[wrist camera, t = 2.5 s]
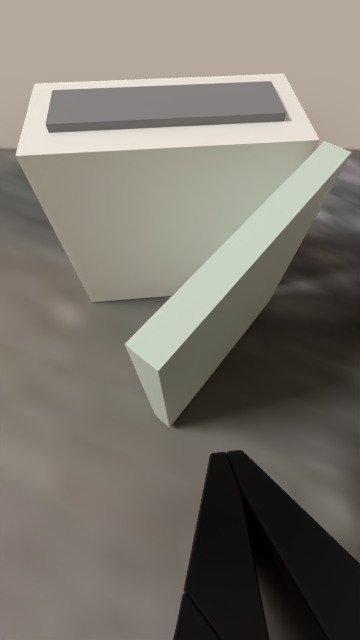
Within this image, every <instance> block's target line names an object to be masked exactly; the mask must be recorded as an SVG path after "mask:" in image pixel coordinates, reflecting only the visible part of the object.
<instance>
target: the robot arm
mask: <svg viewBox="0 0 360 640" xmlns="http://www.w3.org/2000/svg"><path fill="white" fill-rule="evenodd" d="M173 640H360V563H359V562H358V561H357V560H356V559H355V558H354V557H352V556H351V555H350V554H349V553H348V552H347V551H346V550H345V549H344V548H343V547H342V546H341V545H340V544H339V543H338V542H337V541H336V540H335V539H334V538H333V537H332V536H331V535H330V534H329V533H327V532H326V531H325V530H324V529H323V528H322V527H321V526H320V525H319V524H318V523H317V522H316V521H315V520H314V519H313V518H312V517H311V516H310V515H309V514H308V513H307V512H306V511H305V510H304V509H303V508H301V507H300V506H299V505H298V504H297V503H296V502H295V501H294V500H293V499H292V498H291V497H290V496H289V495H288V494H287V493H286V492H285V491H284V490H283V489H282V488H281V487H280V486H279V485H278V484H276V483H275V482H274V481H273V480H272V479H271V478H270V477H269V476H268V475H267V474H266V473H265V472H264V471H263V470H262V469H261V468H260V467H259V466H258V465H257V464H256V463H255V462H254V461H253V460H252V459H250V458H249V457H248V456H247V455H246V454H245V453H244V452H243V451H241V450H235V451H228V452H227V453H225V452H217V453H211V455H210V458H209V463H208V468H207V473H206V478H205V483H204V489H203V494H202V499H201V504H200V509H199V514H198V519H197V524H196V529H195V535H194V540H193V545H192V550H191V555H190V560H189V565H188V570H187V575H186V580H185V586H184V594H183V595H182V600H181V605H180V610H179V615H178V620H177V624H176V629H175V633H174V638H173Z"/></svg>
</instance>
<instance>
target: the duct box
mask: <svg viewBox="0 0 360 640" xmlns="http://www.w3.org/2000/svg"><path fill="white" fill-rule="evenodd" d="M318 142H319V138H318V136H317V134H316V132H315V131H314V129H313V127H312V125H311V123H310V121H309V119H308V117H307V116H306V114H305V112H304V110H303V108H302V106H301V104H300V103H299V101H298V99H297V97H296V95H295V93H294V91H293V90H292V88H291V86H290V84H289V82H288V80H287V78H286V77H285V75H284V74H264V75H239V76H213V77H189V78H163V79H139V80H113V81H88V82H63V83H38V84H34V88H33V92H32V95H31V99H30V103H29V107H28V111H27V114H26V118H25V122H24V126H23V130H22V133H21V137H20V141H19V145H18V148H17V152H16V158H17V160H18V162H19V164H20V166H21V167H22V169H23V171H24V173H25V175H26V177H27V179H28V181H29V183H30V185H31V187H32V189H33V190H34V192H35V194H36V196H37V198H38V200H39V202H40V204H41V206H42V208H43V210H44V212H45V214H46V215H47V217H48V219H49V221H50V223H51V225H52V227H53V229H54V231H55V233H56V235H57V237H58V238H59V240H60V242H61V244H62V246H63V248H64V250H65V252H66V254H67V256H68V258H69V260H70V262H71V263H72V265H73V267H74V269H75V271H76V273H77V275H78V277H79V279H80V281H81V283H82V285H83V286H84V288H85V290H86V292H87V294H88V296H89V298H90V300H91V302H102V301H114V300H127V299H140V298H152V297H165V296H173V295H174V294H175V293H176V292H177V291H178V290H179V289H180V288H181V287H182V286H183V285H184V284H185V282H186V281H187V280H188V279H189V278H190V277H191V276H192V275H193V274H194V273H195V272H196V271H197V270H198V269H199V268H200V267H201V266H202V265H203V264H204V263H205V262H206V261H207V260H208V259H209V258H210V257H211V256H212V255H213V254H214V253H215V252H216V251H217V250H218V249H219V248H220V247H221V246H222V245H223V244H224V243H225V242H226V241H227V240H228V239H229V238H230V237H231V236H232V235H233V234H234V233H235V232H236V231H237V230H238V229H239V228H240V227H241V226H242V225H243V224H244V223H245V222H246V220H247V219H248V218H249V217H250V216H251V215H252V214H253V213H254V212H255V211H256V210H257V209H258V208H259V207H260V206H261V205H262V204H263V203H264V202H265V201H266V200H267V199H268V198H269V197H270V196H271V195H272V194H273V193H274V192H275V191H276V190H277V189H278V188H279V187H280V186H281V185H282V184H283V183H284V182H285V181H286V180H287V179H288V178H289V177H290V176H291V175H292V174H293V173H294V172H295V171H296V170H297V169H298V168H299V167H300V166H301V165H302V164H303V163H304V162H305V161H306V159H307V158H308V157H309V156H310V155H311V154H312V153H313V152H314V151H315V149H316V147H317V145H318Z"/></svg>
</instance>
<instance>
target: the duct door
mask: <svg viewBox="0 0 360 640" xmlns="http://www.w3.org/2000/svg"><path fill="white" fill-rule="evenodd" d="M350 154H351V152H349V151H347V150H345V149H342V148H340V147H337V146H335V145H333V144H330V143H328V142H325V141H324V142H323V143H322V144H321V145H320V146H319V147H318V148H317V149H316V150H315V151H314V152H313V153H312V154H311V155H310V156H309V157H308V158H307V159H306V161H305V162H304V163H303V164H302V165H301V166H300V167H299V168H298V169H297V170H296V171H295V172H294V173H293V174H292V175H291V176H290V177H289V178H288V179H287V180H286V181H285V182H284V183H283V184H282V185H281V186H280V187H279V188H278V189H277V190H276V191H275V192H274V193H273V194H272V195H271V196H270V197H269V198H268V199H267V200H266V201H265V202H264V203H263V204H262V205H261V206H260V207H259V208H258V209H257V210H256V211H255V212H254V213H253V214H252V215H251V216H250V217H249V218H248V219H247V220H246V222H245V223H244V224H243V225H242V226H241V227H240V228H239V229H238V230H237V231H236V232H235V233H234V234H233V235H232V236H231V237H230V238H229V239H228V240H227V241H226V242H225V243H224V244H223V245H222V246H221V247H220V248H219V249H218V250H217V251H216V252H215V253H214V254H213V255H212V256H211V257H210V258H209V259H208V260H207V261H206V262H205V263H204V264H203V265H202V266H201V267H200V268H199V269H198V270H197V271H196V272H195V273H194V274H193V275H192V276H191V277H190V278H189V279H188V280H187V281H186V282H185V284H184V285H183V286H182V287H181V288H180V289H179V290H178V291H177V292H176V293H175V294H174V295H173V296H172V297H171V298H170V299H169V300H168V301H167V302H166V303H165V304H164V305H163V306H162V307H161V308H160V309H159V310H158V311H157V312H156V313H155V314H154V315H153V316H152V317H151V318H150V319H149V320H148V321H147V322H146V323H145V324H144V325H143V326H142V327H141V328H140V329H139V330H138V331H137V332H136V333H135V334H134V335H133V336H132V337H131V338H130V339H129V340H128V341H127V342H126V343H125V346H126V348H127V350H128V353H129V355H130V357H131V360H132V362H133V364H134V367H135V369H136V371H137V374H138V376H139V378H140V381H141V383H142V385H143V388H144V390H145V392H146V395H147V397H148V399H149V402H150V404H151V406H152V409H153V411H154V413H155V415H156V416H157V417H158V418H159V419H160V420H161V421H162V422H163V423H165V424H166V425H167V426H168V427H169V428H170V427H171V425H172V424H173V423H174V422H175V420H176V419H177V418H178V417H179V415H180V414H181V413H182V411H183V410H184V409H185V408H186V406H187V405H188V404H189V403H190V401H191V400H192V399H193V397H194V396H195V395H196V394H197V392H198V391H199V390H200V389H201V387H202V386H203V385H204V384H205V382H206V381H207V380H208V378H209V377H210V376H211V375H212V373H213V372H214V371H215V370H216V368H217V367H218V366H219V365H220V363H221V362H222V361H223V359H224V358H225V357H226V356H227V354H228V353H229V352H230V351H231V349H232V348H233V347H234V346H235V344H236V343H237V342H238V340H239V339H240V338H241V337H242V335H243V334H244V333H245V332H246V330H247V329H248V328H249V327H250V325H251V324H252V323H253V321H254V320H255V319H256V318H257V316H258V315H259V314H260V313H261V311H262V310H263V309H264V308H265V306H266V305H267V304H268V302H269V301H270V299H271V297H272V295H273V293H274V292H275V290H276V288H277V286H278V284H279V283H280V281H281V279H282V277H283V275H284V274H285V272H286V270H287V268H288V266H289V264H290V263H291V261H292V259H293V257H294V255H295V254H296V252H297V250H298V248H299V246H300V245H301V243H302V241H303V239H304V237H305V236H306V234H307V232H308V230H309V228H310V226H311V225H312V223H313V221H314V219H315V217H316V216H317V214H318V212H319V210H320V208H321V207H322V205H323V203H324V201H325V199H326V198H327V196H328V194H329V192H330V190H331V188H332V187H333V185H334V183H335V181H336V179H337V178H338V176H339V174H340V172H341V170H342V169H343V167H344V165H345V163H346V161H347V160H348V158H349V156H350Z"/></svg>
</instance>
